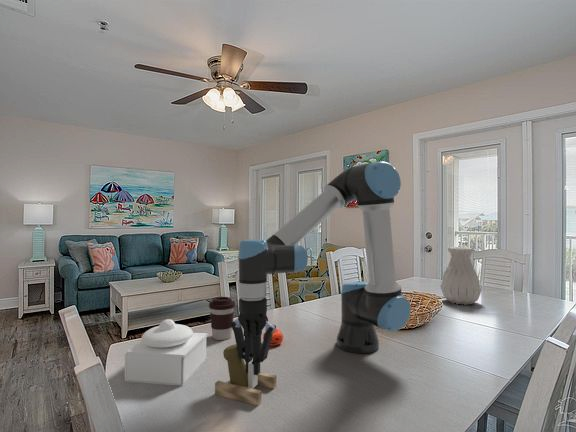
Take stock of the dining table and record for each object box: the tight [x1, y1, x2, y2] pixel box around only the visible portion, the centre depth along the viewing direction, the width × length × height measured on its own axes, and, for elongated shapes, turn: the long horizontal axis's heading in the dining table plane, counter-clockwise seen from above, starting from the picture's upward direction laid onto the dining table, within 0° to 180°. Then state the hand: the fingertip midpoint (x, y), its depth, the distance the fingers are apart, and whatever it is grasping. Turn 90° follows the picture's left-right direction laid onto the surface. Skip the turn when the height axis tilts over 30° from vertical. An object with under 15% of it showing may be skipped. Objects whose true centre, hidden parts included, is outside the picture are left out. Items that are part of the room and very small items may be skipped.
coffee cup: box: [208, 296, 236, 341], centre depth 132 cm, size 10×10×15 cm
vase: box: [440, 246, 482, 306], centre depth 186 cm, size 20×20×30 cm
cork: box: [223, 343, 248, 388], centre depth 93 cm, size 6×6×11 cm
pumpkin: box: [262, 328, 284, 347], centre depth 125 cm, size 7×8×6 cm
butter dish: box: [124, 318, 209, 387], centre depth 104 cm, size 18×18×16 cm
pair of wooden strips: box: [214, 371, 277, 406], centre depth 92 cm, size 13×10×3 cm
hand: (252, 385), depth 91 cm, fingers closed
